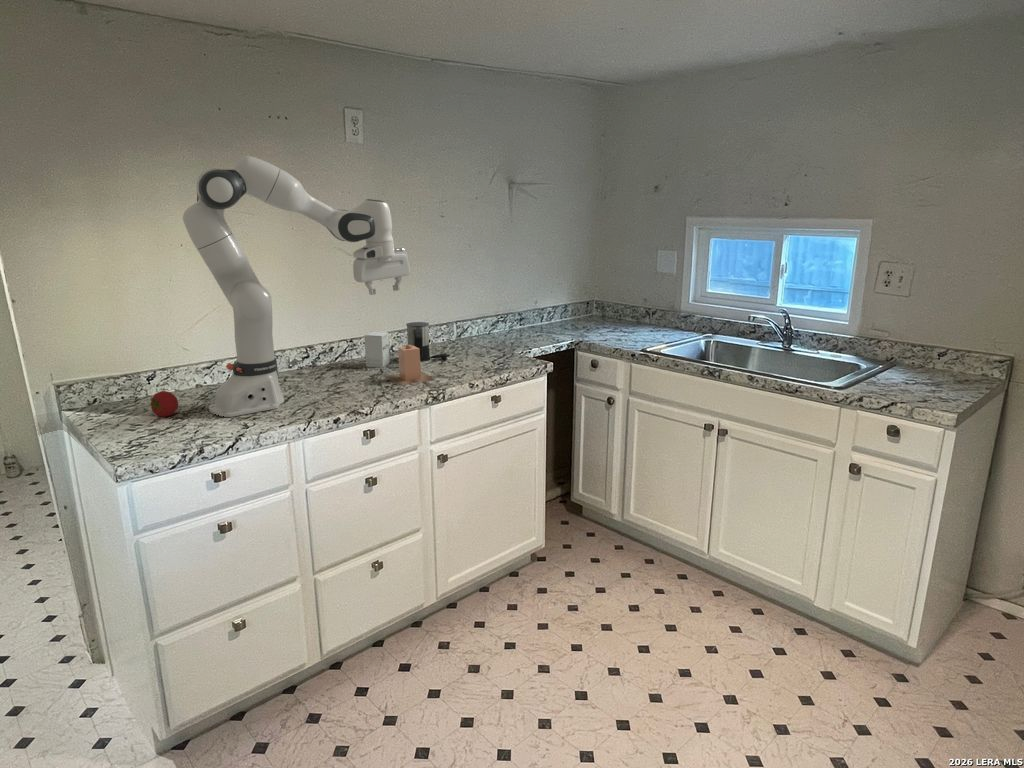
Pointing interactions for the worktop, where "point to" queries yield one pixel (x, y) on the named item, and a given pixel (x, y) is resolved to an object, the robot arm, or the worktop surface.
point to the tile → (400, 381)
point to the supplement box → (377, 349)
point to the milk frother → (421, 340)
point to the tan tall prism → (409, 362)
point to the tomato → (164, 404)
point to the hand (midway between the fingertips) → (384, 292)
